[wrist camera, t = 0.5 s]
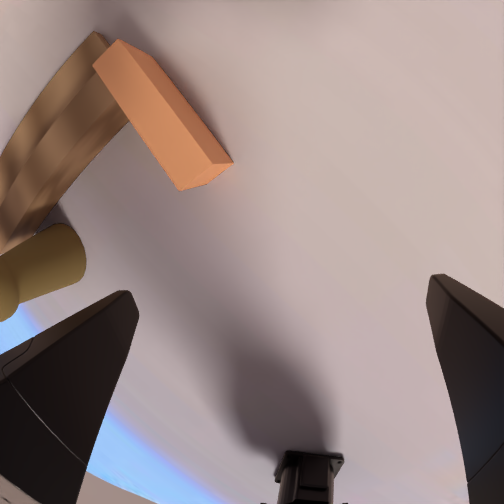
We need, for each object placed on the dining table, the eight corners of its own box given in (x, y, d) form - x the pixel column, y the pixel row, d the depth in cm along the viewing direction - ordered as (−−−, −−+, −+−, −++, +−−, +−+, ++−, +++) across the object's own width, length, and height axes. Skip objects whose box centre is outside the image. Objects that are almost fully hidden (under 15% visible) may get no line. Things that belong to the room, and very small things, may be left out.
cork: (83, 225, 25) (-12, 263, 15) (89, 289, 27) (7, 344, 17) (40, 221, 26) (-47, 251, 16) (47, 278, 28) (-31, 322, 18)
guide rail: (66, 306, 28) (35, 328, 24) (-5, 179, 26) (-38, 186, 22) (233, 163, 22) (212, 164, 17) (119, 17, 20) (86, -3, 15)
